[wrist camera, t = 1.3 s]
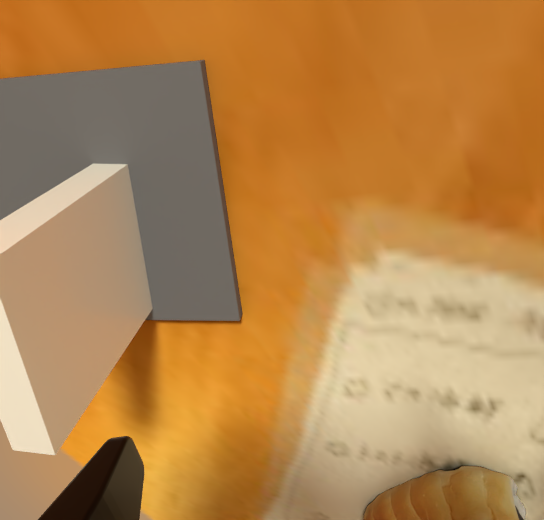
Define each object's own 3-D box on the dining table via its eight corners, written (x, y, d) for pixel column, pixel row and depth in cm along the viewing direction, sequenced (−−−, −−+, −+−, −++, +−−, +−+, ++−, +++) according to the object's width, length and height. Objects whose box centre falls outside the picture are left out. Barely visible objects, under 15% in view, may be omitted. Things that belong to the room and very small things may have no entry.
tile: (127, 164, 21) (-12, 262, 13) (152, 308, 24) (55, 455, 16) (90, 163, 21) (-68, 260, 13) (121, 306, 24) (10, 449, 17)
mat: (204, 59, 19) (200, 61, 18) (242, 314, 24) (239, 320, 24) (-116, 89, 21) (-128, 91, 21) (-16, 312, 27) (-24, 318, 26)
